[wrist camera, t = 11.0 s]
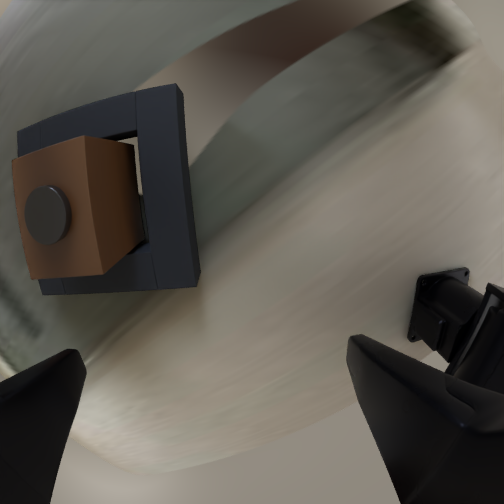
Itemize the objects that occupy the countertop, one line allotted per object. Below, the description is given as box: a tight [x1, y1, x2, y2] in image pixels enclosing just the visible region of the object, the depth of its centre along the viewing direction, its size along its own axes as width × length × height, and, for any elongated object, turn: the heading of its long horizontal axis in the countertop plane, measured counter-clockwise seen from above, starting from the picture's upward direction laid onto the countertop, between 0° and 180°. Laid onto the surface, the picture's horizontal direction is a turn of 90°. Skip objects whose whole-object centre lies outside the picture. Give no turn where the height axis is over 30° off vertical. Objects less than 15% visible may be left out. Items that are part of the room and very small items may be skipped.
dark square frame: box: [17, 83, 201, 295], centre depth 17 cm, size 12×12×2 cm
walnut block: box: [12, 135, 145, 280], centre depth 14 cm, size 5×6×8 cm
